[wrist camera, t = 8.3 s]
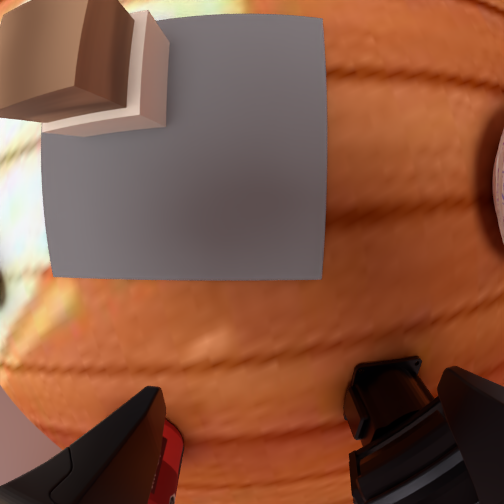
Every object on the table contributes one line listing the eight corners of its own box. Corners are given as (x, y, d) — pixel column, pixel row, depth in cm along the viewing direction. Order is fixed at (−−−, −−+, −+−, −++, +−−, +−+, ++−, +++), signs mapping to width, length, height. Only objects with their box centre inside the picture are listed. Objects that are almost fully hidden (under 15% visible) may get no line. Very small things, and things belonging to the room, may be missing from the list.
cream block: (169, 42, 16) (147, 10, 11) (166, 126, 17) (139, 114, 13) (89, 57, 16) (52, 36, 11) (83, 137, 17) (41, 132, 13)
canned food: (146, 460, 27) (125, 538, 16) (97, 415, 25) (58, 496, 14) (201, 448, 26) (189, 539, 15) (151, 398, 24) (117, 498, 13)
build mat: (320, 21, 16) (322, 18, 15) (319, 276, 21) (321, 279, 20) (53, 50, 16) (49, 48, 15) (57, 274, 21) (53, 276, 20)
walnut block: (134, 20, 11) (95, -26, 6) (126, 107, 12) (73, 85, 8) (55, 41, 11) (3, 15, 6) (46, 123, 12) (-17, 116, 8)
